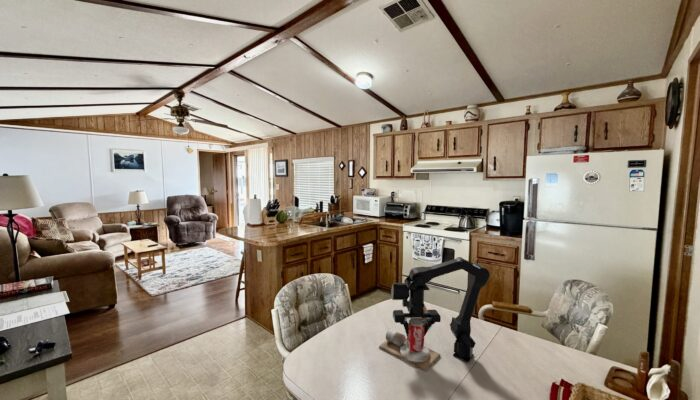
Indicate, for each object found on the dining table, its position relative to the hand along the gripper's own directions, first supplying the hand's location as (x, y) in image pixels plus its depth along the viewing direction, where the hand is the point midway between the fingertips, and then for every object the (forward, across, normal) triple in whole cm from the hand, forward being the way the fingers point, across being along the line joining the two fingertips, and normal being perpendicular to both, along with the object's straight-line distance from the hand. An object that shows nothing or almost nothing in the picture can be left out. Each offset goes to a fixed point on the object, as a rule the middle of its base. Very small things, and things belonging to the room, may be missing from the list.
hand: (415, 335), depth 123 cm
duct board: (+9, +2, -2) cm, 9 cm away
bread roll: (+9, -10, -33) cm, 35 cm away
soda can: (+6, 0, 0) cm, 6 cm away
